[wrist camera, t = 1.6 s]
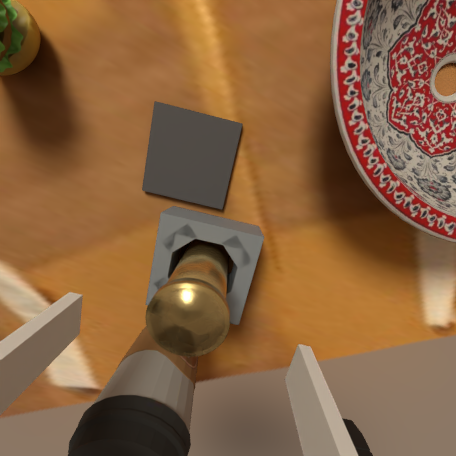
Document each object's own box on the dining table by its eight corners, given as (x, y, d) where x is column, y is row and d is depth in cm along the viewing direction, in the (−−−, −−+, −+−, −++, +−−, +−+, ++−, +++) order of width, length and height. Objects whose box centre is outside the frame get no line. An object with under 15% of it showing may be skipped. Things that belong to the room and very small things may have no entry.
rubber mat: (144, 189, 24) (142, 190, 24) (156, 103, 22) (154, 101, 22) (222, 208, 25) (222, 209, 24) (242, 125, 23) (242, 123, 22)
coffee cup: (221, 329, 29) (210, 490, 14) (173, 360, 30) (118, 537, 15) (179, 283, 27) (119, 410, 12) (131, 318, 28) (26, 470, 14)
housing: (159, 283, 27) (145, 304, 23) (173, 206, 25) (160, 212, 20) (237, 301, 28) (238, 325, 23) (258, 226, 25) (264, 237, 21)
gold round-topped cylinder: (180, 271, 27) (140, 347, 15) (188, 228, 25) (152, 274, 14) (224, 281, 27) (219, 363, 15) (235, 239, 26) (238, 294, 14)
